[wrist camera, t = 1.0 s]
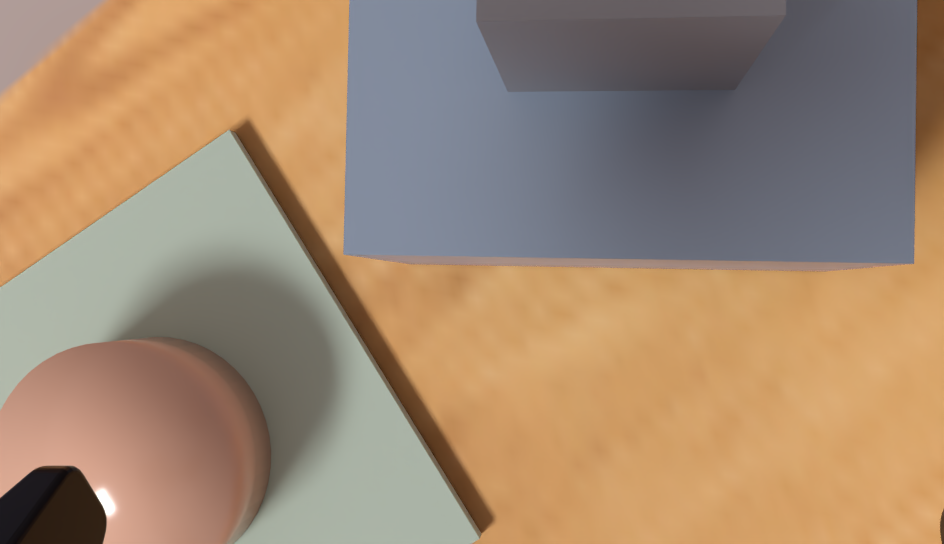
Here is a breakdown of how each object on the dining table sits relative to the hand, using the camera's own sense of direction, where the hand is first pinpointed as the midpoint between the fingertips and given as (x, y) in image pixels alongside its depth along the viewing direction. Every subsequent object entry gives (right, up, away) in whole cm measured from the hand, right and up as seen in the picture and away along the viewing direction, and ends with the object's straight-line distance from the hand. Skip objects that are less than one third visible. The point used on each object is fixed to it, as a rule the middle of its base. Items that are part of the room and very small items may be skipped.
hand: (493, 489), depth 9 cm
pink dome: (-8, -2, +14) cm, 16 cm away
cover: (+3, +7, +13) cm, 15 cm away
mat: (-8, -2, +14) cm, 17 cm away
